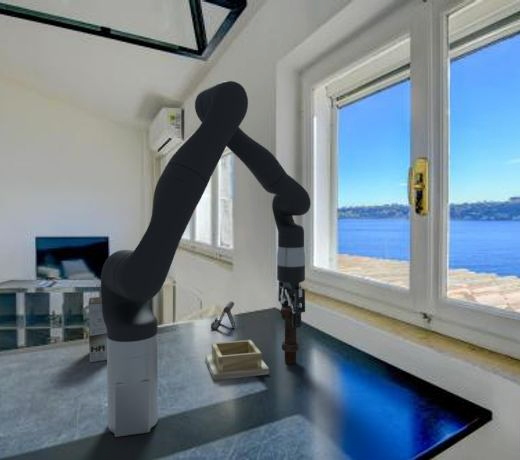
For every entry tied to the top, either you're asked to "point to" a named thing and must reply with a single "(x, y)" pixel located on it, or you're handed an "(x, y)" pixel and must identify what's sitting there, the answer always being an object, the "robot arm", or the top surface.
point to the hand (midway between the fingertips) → (290, 322)
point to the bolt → (289, 336)
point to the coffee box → (97, 331)
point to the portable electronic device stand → (226, 310)
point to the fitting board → (235, 360)
